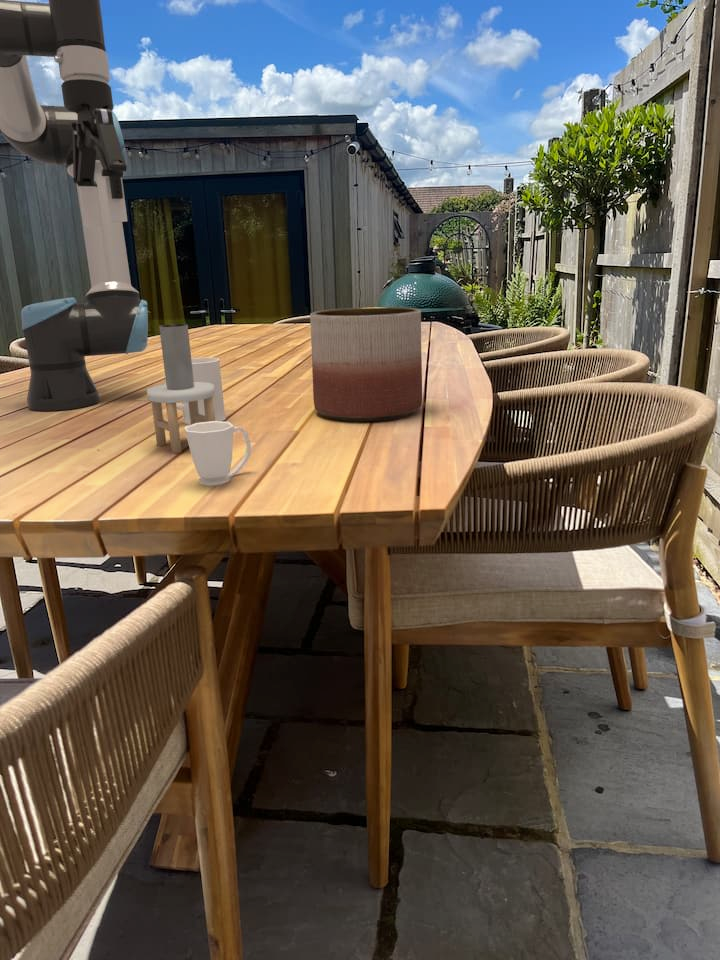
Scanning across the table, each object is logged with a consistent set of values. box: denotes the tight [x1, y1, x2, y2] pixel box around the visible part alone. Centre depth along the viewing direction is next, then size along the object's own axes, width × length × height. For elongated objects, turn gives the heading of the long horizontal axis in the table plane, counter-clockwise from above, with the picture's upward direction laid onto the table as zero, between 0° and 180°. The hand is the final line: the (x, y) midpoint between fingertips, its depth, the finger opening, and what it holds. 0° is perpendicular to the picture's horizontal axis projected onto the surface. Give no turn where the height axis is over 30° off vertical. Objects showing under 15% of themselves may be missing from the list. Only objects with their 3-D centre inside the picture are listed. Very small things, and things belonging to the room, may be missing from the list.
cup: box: [183, 421, 252, 487], centre depth 98 cm, size 7×10×8 cm
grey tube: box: [158, 323, 194, 390], centre depth 113 cm, size 4×4×10 cm
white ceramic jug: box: [163, 356, 227, 426], centre depth 133 cm, size 12×8×12 cm
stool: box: [146, 382, 215, 454], centre depth 116 cm, size 11×11×10 cm
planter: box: [309, 306, 423, 422], centre depth 136 cm, size 22×22×20 cm
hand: (105, 224), depth 116 cm, fingers open, 13 cm apart
